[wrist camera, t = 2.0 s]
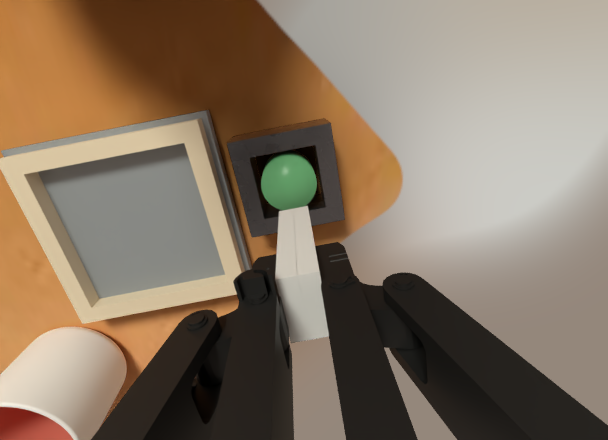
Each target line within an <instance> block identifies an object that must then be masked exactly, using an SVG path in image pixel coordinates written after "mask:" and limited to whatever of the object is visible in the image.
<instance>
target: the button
mask: <svg viewBox="0 0 608 440" xmlns="http://www.w3.org/2000/svg"><path fill="white" fill-rule="evenodd" d="M316 188H317V180H316V176H315V173H314V170H313V168H312V165H311V163H310V161H309V160H308V158H307V157H306V156H304V155H303V154H302V153H300V152H298V151H294V150H287V151H282V152H277V153H275V154H273V155H272V156H271V157H270V158H269V159H268V160H267V162H266V164H265V166H264V170H263V175H262V179H261V189H262V192H263V195H264V197H265V199H266V200H267V201H268V202H269V203H270V204H271V205H272V206H274V207H275V208H277V209H280V210H288V209H294V208H299V207H304V206H306V205H307V204H308V203H309V202H310V201H311V200H312V198H313V197H314V195H315V192H316Z"/></svg>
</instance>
